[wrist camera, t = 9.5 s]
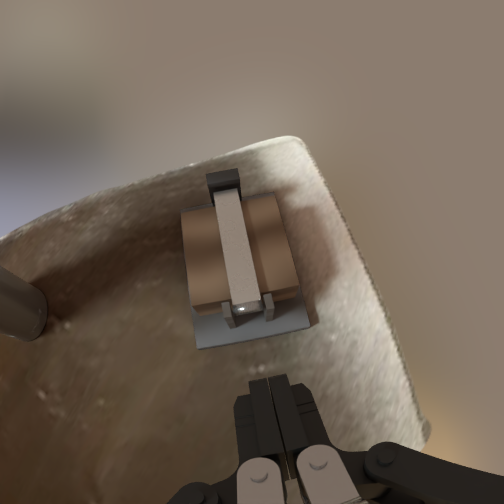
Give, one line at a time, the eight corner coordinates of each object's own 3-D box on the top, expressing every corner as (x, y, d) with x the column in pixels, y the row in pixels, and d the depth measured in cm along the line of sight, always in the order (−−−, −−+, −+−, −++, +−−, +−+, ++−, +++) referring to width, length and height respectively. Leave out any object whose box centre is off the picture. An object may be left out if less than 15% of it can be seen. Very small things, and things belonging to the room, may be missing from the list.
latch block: (308, 328, 38) (321, 312, 30) (199, 349, 37) (182, 340, 29) (273, 197, 46) (275, 159, 38) (182, 215, 45) (167, 179, 37)
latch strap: (263, 311, 32) (263, 308, 31) (235, 317, 32) (234, 314, 31) (237, 192, 39) (236, 186, 38) (214, 196, 38) (212, 191, 37)
